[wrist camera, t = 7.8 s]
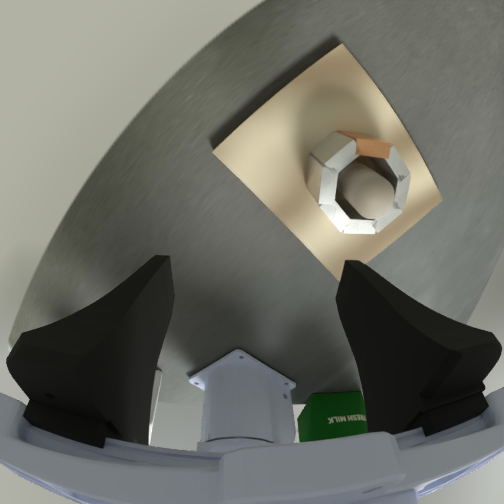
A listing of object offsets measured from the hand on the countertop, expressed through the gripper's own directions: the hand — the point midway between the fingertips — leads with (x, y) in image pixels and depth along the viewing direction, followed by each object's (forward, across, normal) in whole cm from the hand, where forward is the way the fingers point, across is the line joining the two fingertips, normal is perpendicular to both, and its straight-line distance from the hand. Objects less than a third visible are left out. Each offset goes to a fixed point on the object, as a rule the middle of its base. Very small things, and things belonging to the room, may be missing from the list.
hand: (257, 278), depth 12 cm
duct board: (+9, -6, -2) cm, 11 cm away
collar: (+8, -6, -3) cm, 11 cm away
